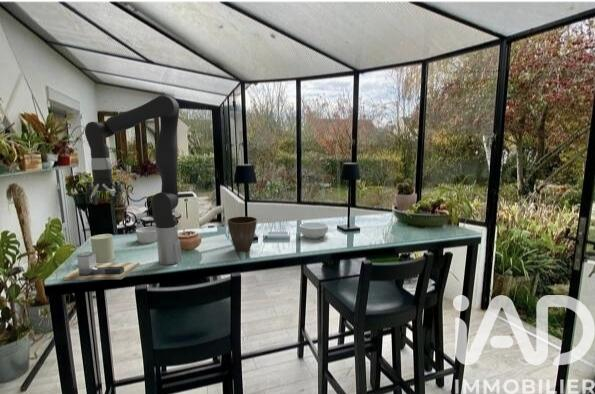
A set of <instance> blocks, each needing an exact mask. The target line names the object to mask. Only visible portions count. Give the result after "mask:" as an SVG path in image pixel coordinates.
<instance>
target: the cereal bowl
mask: <svg viewBox="0 0 595 394" xmlns="http://www.w3.org/2000/svg"><path fill="white" fill-rule="evenodd" d="M328 230H329V225H328V224H326V223H323V222H315V221H314V222H303V223H300V224H299V233H301V235H303V236H304V237H306V238H307V239H311V240H312V239H314V240H315V239H316V240H317V239H320V238H321V237H324V236H326V234H327V233H328Z"/></svg>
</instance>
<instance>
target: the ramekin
mask: <svg viewBox="0 0 595 394" xmlns="http://www.w3.org/2000/svg"><path fill="white" fill-rule="evenodd" d="M135 234H136V238H137V241H138V242H139V243H140V244H152V243H157V233H156V225H155V226H144V227H143V226H142V227H140V228H137V229H136V230H135Z"/></svg>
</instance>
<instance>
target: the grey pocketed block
mask: <svg viewBox="0 0 595 394" xmlns="http://www.w3.org/2000/svg"><path fill="white" fill-rule="evenodd" d="M76 259H77V266H78V267H77V269H78V268H79V270H90V269H92V268H94V267H95V266H97V265H96V256H95V252H92V251H88V252H87V251H86V252H82V253H80V254H78V255H76Z"/></svg>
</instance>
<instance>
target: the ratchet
mask: <svg viewBox="0 0 595 394" xmlns="http://www.w3.org/2000/svg"><path fill="white" fill-rule="evenodd" d="M77 269H78V268H77ZM78 270H79V269H78ZM123 272H124V267H97V266H95V267H94V268H92V269H90V270H79V276H89V275H93V274H122V273H123Z"/></svg>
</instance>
